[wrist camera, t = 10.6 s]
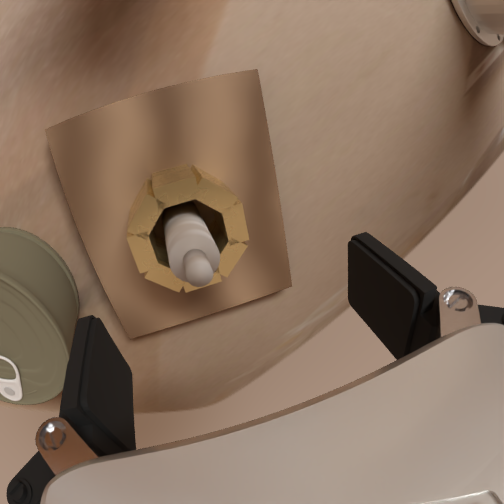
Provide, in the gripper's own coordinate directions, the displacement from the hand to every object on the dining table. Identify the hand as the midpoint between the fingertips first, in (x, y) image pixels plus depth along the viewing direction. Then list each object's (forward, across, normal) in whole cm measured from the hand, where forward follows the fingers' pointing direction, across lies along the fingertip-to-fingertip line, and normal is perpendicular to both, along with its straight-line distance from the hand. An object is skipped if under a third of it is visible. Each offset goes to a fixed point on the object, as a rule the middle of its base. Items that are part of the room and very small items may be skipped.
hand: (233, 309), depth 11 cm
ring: (+11, +1, 0) cm, 11 cm away
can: (+13, +16, +3) cm, 21 cm away
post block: (+13, +1, +1) cm, 13 cm away
